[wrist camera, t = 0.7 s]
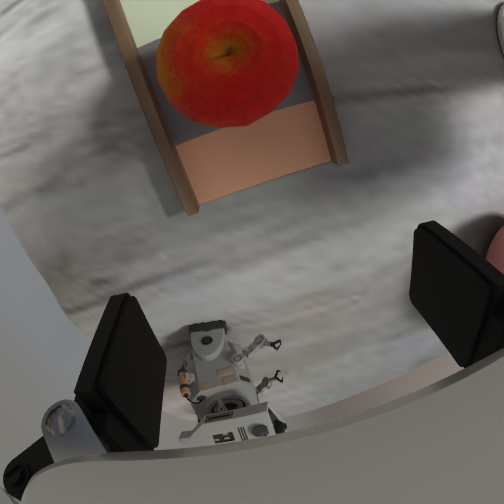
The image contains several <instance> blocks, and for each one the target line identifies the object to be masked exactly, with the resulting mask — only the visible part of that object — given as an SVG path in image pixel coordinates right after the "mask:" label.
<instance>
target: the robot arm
mask: <svg viewBox="0 0 504 504" xmlns="http://www.w3.org/2000/svg"><path fill="white" fill-rule="evenodd" d="M497 29H498V36H499V40H500V45H501V48H502V51H503V54H504V4H503V5H502V6H501V8H500V10H499V12H498V18H497ZM409 296H410V300H411V302H412V304H413V305H414V306H415V308H416V309H417V310H418V311H419V313H420V314H421V315H422V317H423V318H424V319H425V320H426V322H427V323H428V324H429V326H430V327H431V328H432V330H433V331H434V332H435V333H436V335H437V336H438V337H439V339H440V340H441V342H442V343H443V344H444V346H445V347H446V348H447V350H448V351H449V352H450V354H451V355H452V357H453V358H454V359H455V361H456V362H457V364H458V365H459V366H460V367H464V368H465V369H463V370H461V371H459V372H457V373H455V374H453V375H451V376H449V377H446V378H444V379H442V380H440V381H438V382H436V383H434V384H431V385H429V386H427V387H424V388H422V389H420V390H417V391H415V392H412V393H410V394H407V395H405V396H402V397H400V398H397V399H395V400H392V401H390V402H387V403H384V404H382V405H379V406H376V407H373V408H370V409H367V410H364V411H361V412H358V413H355V414H352V415H349V416H345V417H342V418H339V419H336V420H332V421H328V422H325V423H321V424H317V425H314V426H310V427H306V428H302V429H298V430H293V431H290V432H285V433H280V434H275V435H271V436H266V437H260V438H255V439H250V440H244V441H238V442H231V443H224V444H217V445H209V446H200V447H191V448H181V449H169V450H155V451H154V448H155V447H158V443H159V433H160V422H161V411H162V401H163V391H164V382H165V374H166V365H167V360H166V356H165V353H164V351H163V350H162V348H161V346H160V344H159V342H158V340H157V338H156V336H155V335H154V333H153V331H152V329H151V327H150V325H149V323H148V321H147V319H146V317H145V315H144V313H143V311H142V309H141V307H140V305H139V303H138V301H137V299H136V298H135V296H130V295H129V294H128V293H123V294H119V295H114V296H111V297H110V299H109V301H108V304H107V306H106V308H105V311H104V313H103V315H102V318H101V320H100V323H99V325H98V328H97V330H96V333H95V335H94V338H93V340H92V343H91V345H90V348H89V351H88V353H87V356H86V359H85V361H84V364H83V367H82V370H81V372H80V375H79V378H78V381H77V384H76V387H75V390H74V393H75V394H76V396H75V400H74V401H73V400H67V399H65V400H61V401H58V402H56V403H55V404H53V405H52V406H51V407H50V408H48V410H47V411H46V413H45V414H44V417H43V419H42V423H41V428H42V433H43V436H42V437H41V438H40V439H39V440H37V441H36V442H35V443H33V444H32V445H31V446H30V447H28V448H27V449H26V450H25V451H23V452H22V453H21V454H20V455H18V456H17V457H16V458H14V459H13V460H12V461H11V462H10V463H9V464H8V466H7V467H6V469H5V471H4V475H3V483H4V487H5V488H2V487H0V504H504V274H503V273H501V272H500V271H499V270H498V269H497V268H495V267H494V266H493V265H492V264H491V263H489V262H488V261H487V260H486V259H485V258H483V257H482V256H481V255H480V254H478V253H477V252H476V251H475V250H473V249H472V248H471V247H470V246H468V245H467V244H466V243H464V242H463V241H462V240H460V239H459V238H458V237H456V236H455V235H454V234H452V233H451V232H450V231H448V230H447V229H446V228H444V227H443V226H441V225H440V224H439V223H437V222H436V221H429V222H425V223H421V224H419V225H418V227H417V229H416V230H415V231H414V241H413V258H412V271H411V282H410V292H409Z"/></svg>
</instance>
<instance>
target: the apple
mask: <svg viewBox="0 0 504 504" xmlns="http://www.w3.org/2000/svg"><path fill="white" fill-rule="evenodd" d="M156 67H157V79H158V83H159V85H160V86H161V88H162V90H163V92H164V93H165V95H166V97H167V99H168V101H169V102H170V104H171V105H172V106H174V107H175V108H176V109H177V110H178V111H180V112H181V113H182V114H183V115H185V116H186V117H187V118H188V119H189V120H191V121H193V122H197V123H201V124H205V125H209V126H213V127H217V128H226V127H240V126H248V125H250V124H252V123H254V122H255V121H257V120H259V119H261V118H262V117H264V116H266V115H268V114H269V113H271V112H272V111H273V110H274V109H275V108H276V107H277V106H278V105H279V104H280V103H281V102H282V101H283V100H284V99H285V98H286V97H287V96H288V95H289V94H290V93H291V90H292V87H293V85H294V82H295V79H296V77H297V74H298V71H299V61H298V51H297V44H296V42H295V39H294V37H293V35H292V33H291V31H290V29H289V27H288V25H287V23H286V21H285V19H284V18H283V17H282V16H281V15H280V14H278V13H277V12H276V11H275V10H274V9H273V8H272V7H271V6H269V5H268V4H267V3H266V2H265V1H262V0H199V1H198V2H196V3H194V4H192V5H191V6H189V7H187V8H186V9H184V10H182V11H181V12H180V13H179V14H178V16H177V17H176V18H175V19H174V20H173V21H172V22H171V23H170V25H169V26H168V27H167V28H166V29H165V30H164V32H163V35H162V38H161V41H160V44H159V47H158V50H157V53H156Z"/></svg>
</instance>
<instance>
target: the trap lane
mask: <svg viewBox="0 0 504 504" xmlns="http://www.w3.org/2000/svg"><path fill="white" fill-rule="evenodd" d="M198 1H199V0H103V3H104V6H105V9H106V11H107V14H108V17H109V20H110V23H111V26H112V29H113V32H114V34H115V37H116V40H117V43H118V46H119V48H120V51H121V54H122V57H123V59H124V62H125V65H126V67H127V70H128V73H129V75H130V78H131V81H132V83H133V86H134V88H135V91H136V94H137V96H138V99H139V101H140V104H141V106H142V109H143V111H144V114H145V116H146V119H147V121H148V124H149V126H150V129H151V131H152V134H153V136H154V139H155V141H156V144H157V146H158V148H159V151H160V153H161V156H162V158H163V160H164V163H165V165H166V168H167V170H168V172H169V175H170V177H171V179H172V182H173V184H174V186H175V189H176V191H177V193H178V195H179V198H180V200H181V202H182V205H183V207H184V209H185V211H186V214H187V216H190V215H193V214H195V213H198V210H199V205H201V204H203V203H206V202H209V201H212V200H214V199H217V198H220V197H223V196H225V195H228V194H231V193H234V192H237V191H240V190H243V189H245V188H248V187H251V186H254V185H257V184H260V183H263V182H266V181H269V180H272V179H275V178H278V177H281V176H284V175H288V174H291V173H294V172H297V171H300V170H303V169H306V168H310V167H313V166H316V165H319V164H323V163H326V162H329V161H332V162H334V163H335V164H337V165H338V166H339V165H342V164H346V163H349V162H348V158H347V154H346V149H345V145H344V141H343V137H342V133H341V129H340V125H339V122H338V118H337V114H336V111H335V107H334V103H333V100H332V97H331V93H330V90H329V86H328V83H327V80H326V77H325V73H324V70H323V67H322V64H321V61H320V58H319V55H318V52H317V49H316V46H315V43H314V41H313V38H312V35H311V32H310V29H309V27H308V24H307V21H306V19H305V16H304V14H303V11H302V8H301V6H300V3H299V1H298V0H262V1H265V2H266V3H267V4H268V5H269V6H271V7H272V8H273V9H274V10H275V11H276V12H277V13H278V14H280V15H281V16H282V17H283V18H284V19H285V21H286V23H287V25H288V27H289V29H290V31H291V33H292V35H293V37H294V39H295V42H296V44H297V51H298V61H299V71H298V74H297V77H296V79H295V82H294V85H293V87H292V90H291V93H290V94H289V95H288V96H287V97H286V98H285V99H284V100H283V101H282V102H281V103H280V104H279V105H278V106H277V107H276V108H275V109H274V110H273V111H272V112H271V113H269V114H268V115H266V116H264V117H262V118H261V119H259V120H257V121H255V122H254V123H252V124H250V125H248V126H240V127H226V128H217V127H213V126H209V125H205V124H201V123H197V122H193V121H191V120H189V119H188V118H187V117H186V116H185V115H183V114H182V113H181V112H180V111H178V110H177V109H176V108H175V107H174V106H172V105H171V104H170V102H169V101H168V99H167V97H166V95H165V93H164V92H163V90H162V88H161V86H160V85H159V83H158V79H157V67H156V53H157V50H158V47H159V44H160V41H161V38H162V35H163V32H164V30H165V29H166V28H167V27H168V26H169V25H170V23H171V22H172V21H173V20H174V19H175V18H176V17H177V16H178V14H179V13H180V12H181V11H182V10H184V9H186V8H187V7H189V6H191V5H192V4H194V3H196V2H198Z"/></svg>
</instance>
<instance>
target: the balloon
mask: <svg viewBox="0 0 504 504" xmlns="http://www.w3.org/2000/svg"><path fill="white" fill-rule="evenodd" d="M486 260H487V261H488V262H489V263H491V264H492V265H493V266H494V267H495V268H497V269H498V270H499V271H500V272H501V273H503V274H504V225H503V226H502V227H501V228H500V229H499V231H498V232H497V233H496V235H495V236H494V238H493V240H492V241H491V244H490V246H489V248H488V251H487V255H486Z"/></svg>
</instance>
